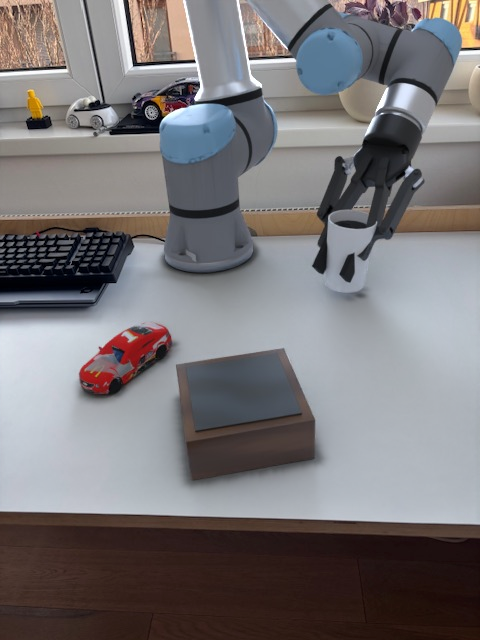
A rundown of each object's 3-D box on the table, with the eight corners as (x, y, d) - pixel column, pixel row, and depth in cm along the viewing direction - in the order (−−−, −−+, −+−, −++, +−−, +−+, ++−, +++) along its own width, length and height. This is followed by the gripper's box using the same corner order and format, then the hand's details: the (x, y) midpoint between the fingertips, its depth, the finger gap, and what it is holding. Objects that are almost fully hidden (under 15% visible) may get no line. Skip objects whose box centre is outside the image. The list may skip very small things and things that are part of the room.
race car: (102, 405, 61) (94, 377, 59) (71, 388, 64) (63, 361, 62) (180, 347, 70) (176, 321, 68) (150, 335, 73) (146, 310, 71)
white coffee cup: (335, 298, 76) (344, 232, 70) (313, 276, 81) (319, 213, 76) (376, 289, 78) (387, 225, 73) (351, 268, 83) (360, 206, 78)
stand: (181, 399, 61) (175, 362, 58) (284, 383, 63) (283, 346, 60) (191, 480, 51) (185, 440, 48) (314, 458, 52) (315, 418, 50)
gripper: (460, 149, 76) (393, 300, 74) (354, 134, 85) (292, 269, 83) (451, 116, 69) (377, 281, 68) (337, 105, 79) (271, 249, 77)
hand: (331, 274), depth 76 cm, fingers closed on white coffee cup, 4 cm apart
